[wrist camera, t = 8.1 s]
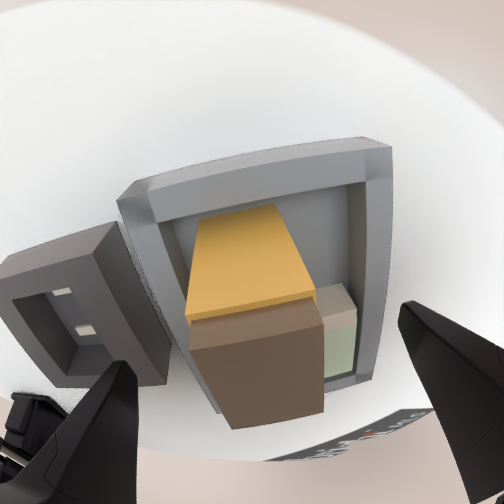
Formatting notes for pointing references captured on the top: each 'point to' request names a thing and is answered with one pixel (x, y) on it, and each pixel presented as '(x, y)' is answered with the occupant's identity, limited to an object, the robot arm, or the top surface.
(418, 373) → the robot arm
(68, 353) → the fuse holder
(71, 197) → the top surface
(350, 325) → the block
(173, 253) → the parts tray
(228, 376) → the block
